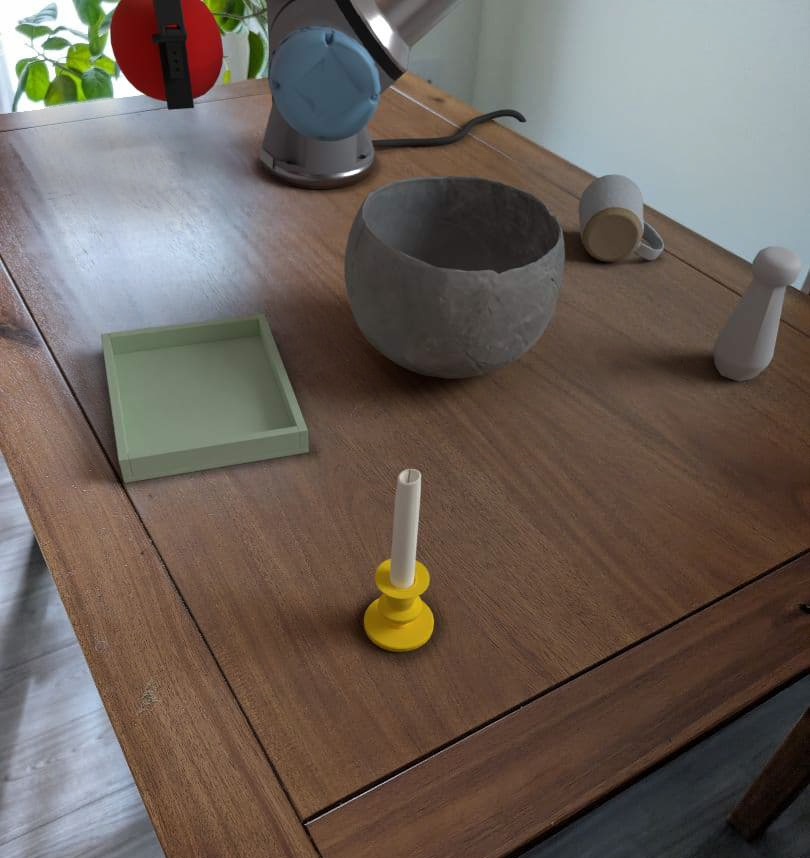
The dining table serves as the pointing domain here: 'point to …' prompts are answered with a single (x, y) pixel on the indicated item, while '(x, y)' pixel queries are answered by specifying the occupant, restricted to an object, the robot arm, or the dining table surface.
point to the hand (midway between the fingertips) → (173, 86)
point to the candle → (402, 579)
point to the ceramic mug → (616, 221)
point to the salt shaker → (756, 316)
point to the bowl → (453, 273)
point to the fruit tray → (200, 397)
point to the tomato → (142, 56)
